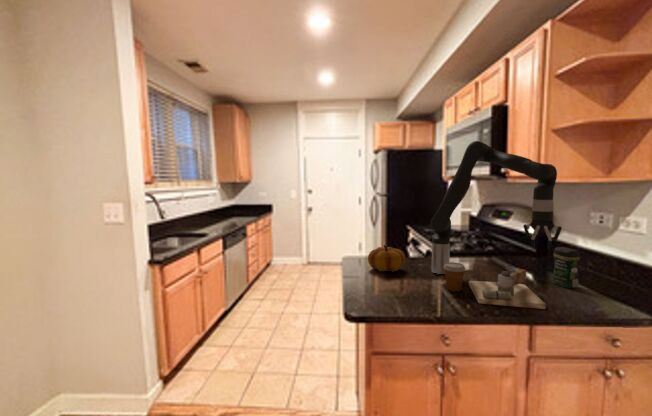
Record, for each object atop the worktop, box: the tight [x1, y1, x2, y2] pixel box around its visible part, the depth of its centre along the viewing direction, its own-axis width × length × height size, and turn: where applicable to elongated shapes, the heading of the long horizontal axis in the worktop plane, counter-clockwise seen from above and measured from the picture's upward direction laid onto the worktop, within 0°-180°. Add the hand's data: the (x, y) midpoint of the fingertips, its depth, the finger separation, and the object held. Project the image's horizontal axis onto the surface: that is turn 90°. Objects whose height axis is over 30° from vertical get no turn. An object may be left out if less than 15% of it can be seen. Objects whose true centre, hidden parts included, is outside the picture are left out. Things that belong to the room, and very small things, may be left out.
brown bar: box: [497, 268, 527, 296], centre depth 131 cm, size 19×6×10 cm, turn 123°
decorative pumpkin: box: [367, 244, 406, 273], centre depth 174 cm, size 20×22×15 cm
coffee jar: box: [552, 246, 581, 289], centre depth 142 cm, size 10×8×19 cm
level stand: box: [468, 280, 547, 310], centre depth 132 cm, size 24×24×5 cm
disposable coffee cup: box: [444, 261, 466, 292], centre depth 140 cm, size 10×10×12 cm
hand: (541, 248), depth 129 cm, fingers open, 4 cm apart
